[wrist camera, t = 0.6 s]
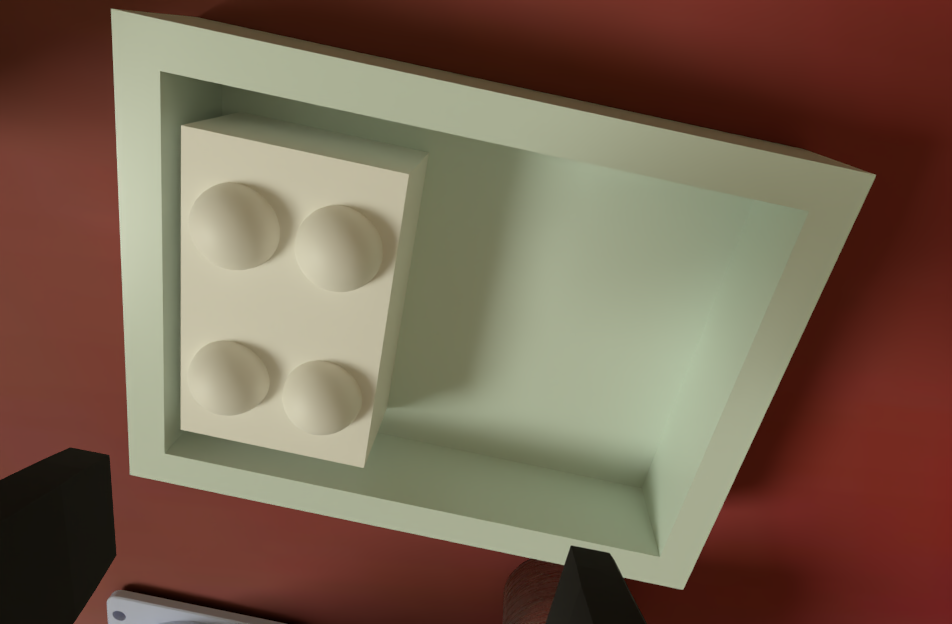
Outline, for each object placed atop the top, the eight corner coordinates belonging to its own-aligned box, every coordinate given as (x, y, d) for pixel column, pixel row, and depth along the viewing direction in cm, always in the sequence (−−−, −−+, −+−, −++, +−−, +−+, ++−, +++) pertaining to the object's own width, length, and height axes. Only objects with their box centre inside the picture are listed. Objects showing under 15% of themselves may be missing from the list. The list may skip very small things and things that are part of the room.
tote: (658, 505, 21) (683, 590, 17) (191, 407, 20) (129, 474, 17) (805, 149, 16) (876, 175, 13) (196, 16, 16) (110, 8, 12)
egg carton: (386, 408, 19) (354, 493, 15) (230, 374, 19) (159, 452, 15) (429, 152, 16) (400, 183, 12) (240, 111, 16) (155, 131, 12)
